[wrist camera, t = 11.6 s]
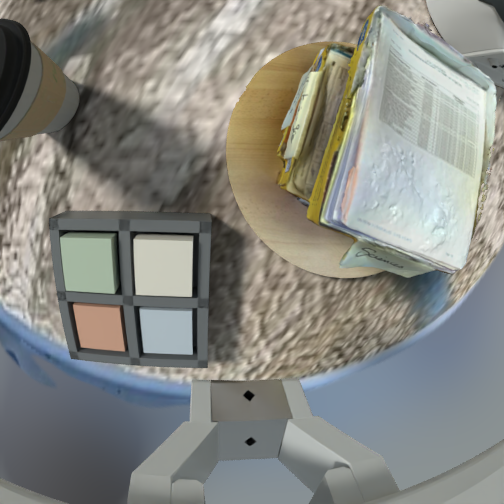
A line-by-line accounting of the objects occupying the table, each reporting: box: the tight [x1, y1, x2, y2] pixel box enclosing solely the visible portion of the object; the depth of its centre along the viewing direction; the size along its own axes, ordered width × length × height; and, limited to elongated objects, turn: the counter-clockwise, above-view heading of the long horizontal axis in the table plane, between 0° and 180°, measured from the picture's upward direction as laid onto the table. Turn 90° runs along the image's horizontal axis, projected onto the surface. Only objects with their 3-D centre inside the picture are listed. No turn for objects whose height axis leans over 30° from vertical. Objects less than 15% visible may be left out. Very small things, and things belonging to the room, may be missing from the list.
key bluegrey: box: [140, 306, 193, 355], centre depth 29 cm, size 5×5×2 cm
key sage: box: [60, 232, 120, 294], centre depth 25 cm, size 5×5×2 cm
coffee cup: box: [0, 19, 79, 141], centre depth 16 cm, size 9×9×15 cm
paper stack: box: [226, 5, 501, 278], centre depth 22 cm, size 25×25×17 cm
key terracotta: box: [73, 302, 128, 351], centre depth 28 cm, size 5×5×2 cm
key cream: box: [133, 234, 193, 297], centre depth 26 cm, size 5×5×2 cm
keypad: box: [49, 211, 212, 368], centre depth 28 cm, size 15×15×4 cm
